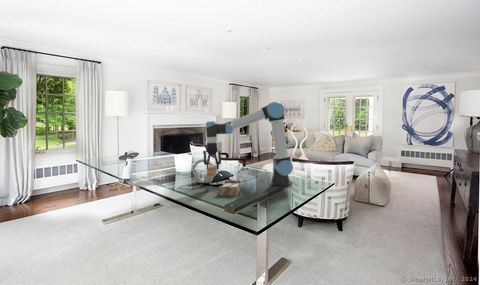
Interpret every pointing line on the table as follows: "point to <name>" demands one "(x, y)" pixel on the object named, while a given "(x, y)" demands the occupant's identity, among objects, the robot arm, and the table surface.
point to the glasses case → (211, 170)
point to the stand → (230, 188)
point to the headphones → (199, 175)
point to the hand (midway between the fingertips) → (213, 173)
